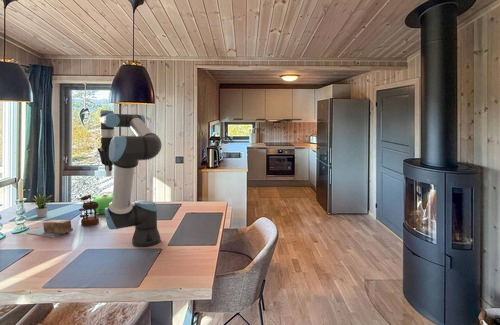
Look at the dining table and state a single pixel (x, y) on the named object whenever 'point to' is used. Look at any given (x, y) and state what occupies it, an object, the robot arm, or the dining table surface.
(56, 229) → the brown rectangular block
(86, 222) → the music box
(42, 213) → the house plant
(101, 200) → the green rounded lump
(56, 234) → the mat
